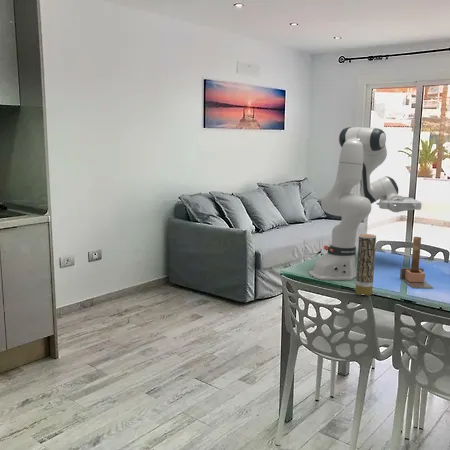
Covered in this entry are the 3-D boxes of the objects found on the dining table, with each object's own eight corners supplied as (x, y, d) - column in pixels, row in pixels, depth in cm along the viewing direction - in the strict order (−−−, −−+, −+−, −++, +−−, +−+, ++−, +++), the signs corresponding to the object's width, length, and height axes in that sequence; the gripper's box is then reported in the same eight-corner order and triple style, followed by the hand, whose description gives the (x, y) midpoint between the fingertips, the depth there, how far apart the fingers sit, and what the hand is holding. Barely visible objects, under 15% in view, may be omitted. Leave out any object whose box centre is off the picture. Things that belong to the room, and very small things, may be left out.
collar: (424, 282, 228) (425, 273, 228) (409, 281, 228) (410, 273, 228) (419, 278, 235) (419, 270, 234) (404, 278, 235) (405, 269, 234)
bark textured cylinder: (372, 297, 207) (376, 237, 203) (355, 295, 209) (359, 236, 205) (371, 292, 214) (375, 234, 210) (354, 291, 215) (358, 233, 211)
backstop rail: (434, 288, 221) (435, 277, 220) (411, 288, 221) (412, 276, 221) (421, 278, 237) (422, 268, 236) (399, 278, 237) (400, 267, 236)
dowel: (413, 281, 230) (416, 238, 227) (408, 279, 233) (412, 236, 230) (419, 280, 231) (422, 238, 228) (415, 279, 234) (418, 236, 231)
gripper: (375, 197, 259) (383, 200, 246) (415, 197, 259) (426, 201, 245) (375, 209, 260) (382, 213, 247) (414, 210, 260) (424, 213, 246)
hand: (404, 207), depth 246 cm, fingers open, 8 cm apart
